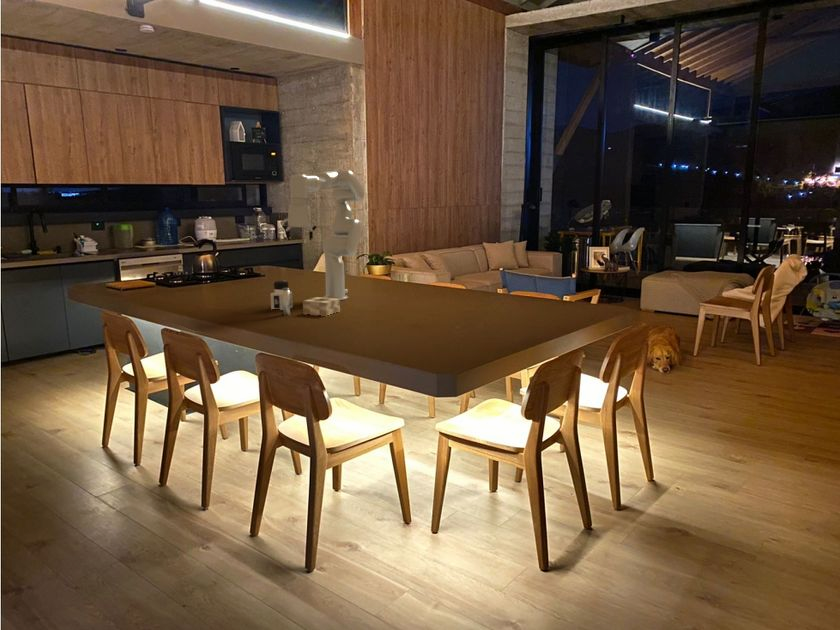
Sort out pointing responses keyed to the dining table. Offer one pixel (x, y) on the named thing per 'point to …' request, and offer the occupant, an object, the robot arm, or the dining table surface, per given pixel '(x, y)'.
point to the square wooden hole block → (321, 306)
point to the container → (279, 295)
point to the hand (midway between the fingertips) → (299, 240)
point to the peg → (286, 301)
